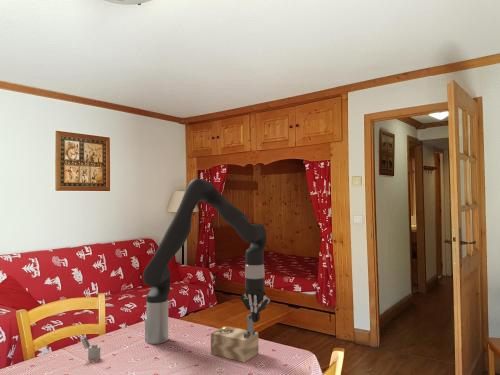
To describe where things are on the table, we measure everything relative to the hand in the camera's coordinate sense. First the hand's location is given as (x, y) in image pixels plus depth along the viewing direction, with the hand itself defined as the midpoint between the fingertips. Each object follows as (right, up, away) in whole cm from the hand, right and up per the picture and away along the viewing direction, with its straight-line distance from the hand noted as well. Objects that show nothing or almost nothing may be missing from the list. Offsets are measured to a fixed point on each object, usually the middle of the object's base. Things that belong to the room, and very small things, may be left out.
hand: (255, 321), depth 145 cm
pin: (-12, -14, +7) cm, 20 cm away
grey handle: (-3, -2, +2) cm, 4 cm away
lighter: (-64, -15, +2) cm, 66 cm away
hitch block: (-8, -14, +5) cm, 17 cm away
